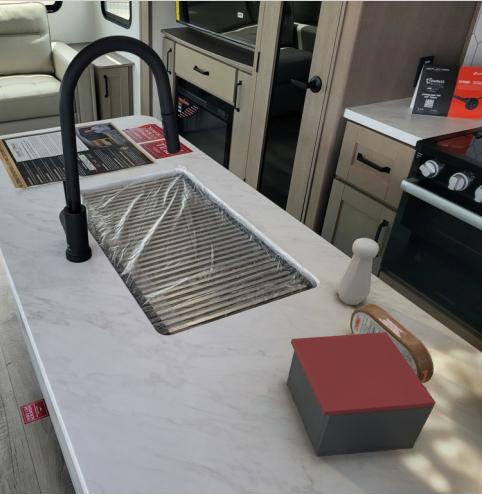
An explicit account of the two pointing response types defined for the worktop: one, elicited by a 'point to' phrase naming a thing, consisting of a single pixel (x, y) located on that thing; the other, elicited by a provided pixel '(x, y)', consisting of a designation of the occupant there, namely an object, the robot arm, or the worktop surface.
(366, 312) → the tin
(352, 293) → the salt shaker
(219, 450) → the worktop surface
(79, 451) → the worktop surface
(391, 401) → the storage bin lid
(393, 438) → the dark grey storage bin
